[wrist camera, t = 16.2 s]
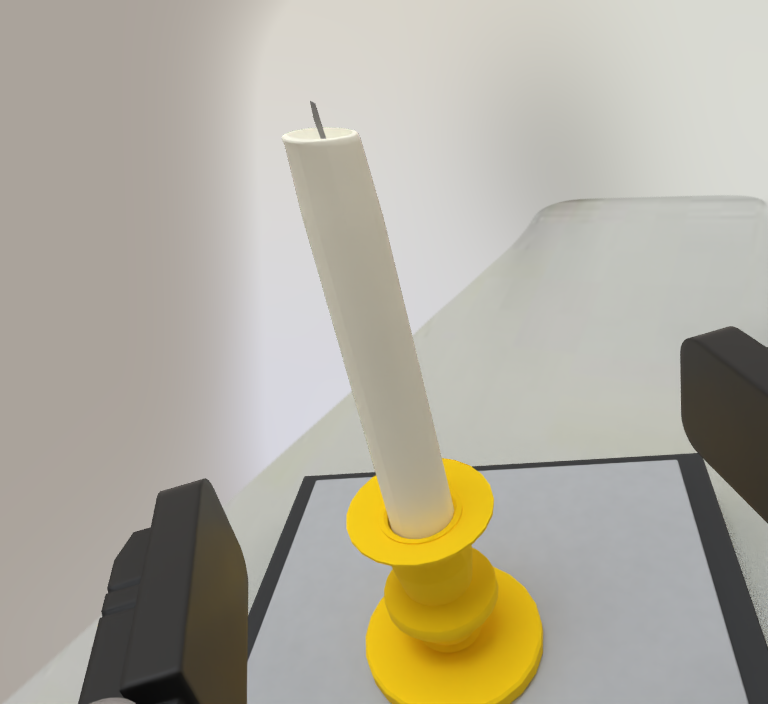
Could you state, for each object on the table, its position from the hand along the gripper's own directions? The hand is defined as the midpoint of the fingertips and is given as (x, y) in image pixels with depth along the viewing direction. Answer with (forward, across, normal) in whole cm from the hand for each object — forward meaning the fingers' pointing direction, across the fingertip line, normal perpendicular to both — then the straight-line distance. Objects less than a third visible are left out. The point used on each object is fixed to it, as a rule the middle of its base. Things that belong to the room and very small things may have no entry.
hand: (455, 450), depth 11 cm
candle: (+4, +1, +10) cm, 11 cm away
